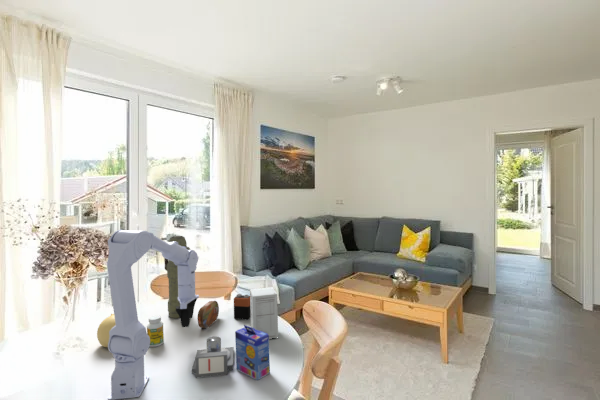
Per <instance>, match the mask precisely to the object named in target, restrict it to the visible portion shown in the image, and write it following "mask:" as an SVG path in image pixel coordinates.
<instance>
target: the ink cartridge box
mask: <svg viewBox="0 0 600 400" xmlns="http://www.w3.org/2000/svg"><path fill="white" fill-rule="evenodd" d="M243 326H244V327H241V328H240V329H237V330H235V331H234V332H235V333H234V335H235V336H234V337H235V340H234V341H235V364H236V365H235V366H236V369H235V370H237V371H238V372H241V373H243V374H244V375H246V376H248V377H250V378H251V379H254V380H255V381H260V380H261V379H262V377H263V378H264V377H266V376H268V375H270V373H271V368H270V367H271V366H270V339H269V335H268V334H267V333H265V332H262V331H259V330H255V328H252V327H251V326H249V325H245V324H244V325H243ZM267 374H268V375H267ZM265 375H266V376H265Z"/></svg>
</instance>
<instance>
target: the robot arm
mask: <svg viewBox="0 0 600 400" xmlns="http://www.w3.org/2000/svg"><path fill="white" fill-rule="evenodd" d="M107 247H108V256H107V257H108V258H107V263H106V269H107V275H108V282H109V289H110V295H111V301H112V306H113V307H112V308H113V314H114V316H115V323H116V325H115V326H114V327H113V328H112V329H111V330H110V331H109V342H108V347H107V349H108V351H109V352H110V353H111V354H112V357H113V358H114V365H115V366H114V370H113V372H112V373H111V376H110V381H111V382H110V385H111V387H110V389H111V392H110V394H109V395H108V397H107V400H121V399H122V400H123V399H133V398H139V397H140V396H141V395H142V393H143V391H144V389H145V386H146V385H147V383H148V381H149V379H150V376H149V375H147V376H146V375H145V356H146V354H147V352H148V351H149V349H150V337H149V336H148V334H147V327H145V326H144V325H143V323H141V321H139V316H138V310H137V309H138V308H137V303H136V294H135V287H134V282H133V281H134V280H133V273H132V266H133V265H134V264H135V263H137V262H138V261H139V260H140V259H142V257H144V255H146V254H147V253H148V252H149V251H150V250H153V251H156V252H158V253H161V256H162V257H163V259H164V258H165V259H168V260H170V261H172V262H174V264H175V265H178V301H179V303H180V306H177V307H176V312H177V313H178V315H179V317H180V319H179V321H180V324H181V325H180V326H181V327H182V328H189V327H190V322H191V319H192V318H193V317H194V310H195V305H196V302H197V300H198V299H199V298H200V295H199V294H196V270H197V264H198V261H199V256H198V253H197V252H196V251H195V250H193V249H191V250H188V249H186V247H185V246H180V245H178V242H176V241H173V242H169V241H168V242H166V241H165V240H163V239H161V238H160V237H158V236H156V235H155V234H154V232H149V231H148V230H125V229H117V230H116V231H114V232H113V233H112V234H111V236H110V237H109V239H108V240H107Z"/></svg>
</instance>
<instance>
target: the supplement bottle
mask: <svg viewBox="0 0 600 400" xmlns="http://www.w3.org/2000/svg"><path fill="white" fill-rule="evenodd" d="M161 320H162V317H161V315H152V316H150V317H148V324H147V326H146V332H147V334H148V336H149V337H150V346H149V348H150V347H152V348H155V347H159V346H161V345H163V343H164V341H165V339H164V323H163V321H161Z"/></svg>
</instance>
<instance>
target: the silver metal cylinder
mask: <svg viewBox="0 0 600 400" xmlns="http://www.w3.org/2000/svg"><path fill="white" fill-rule="evenodd" d="M221 348H222V338H221V337H220V336H210V337H208V338H207V339H206V349H207V353H211V352H221Z"/></svg>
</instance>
